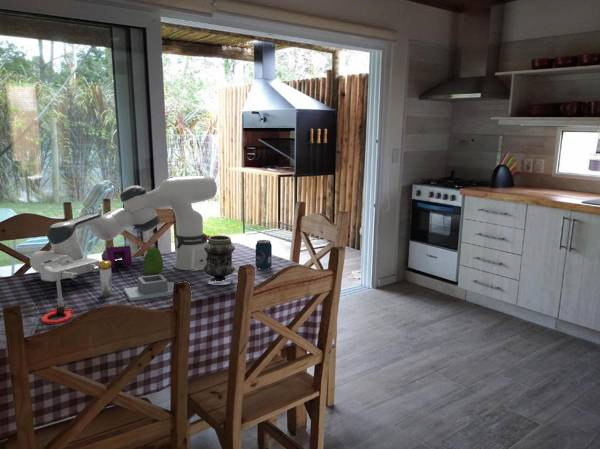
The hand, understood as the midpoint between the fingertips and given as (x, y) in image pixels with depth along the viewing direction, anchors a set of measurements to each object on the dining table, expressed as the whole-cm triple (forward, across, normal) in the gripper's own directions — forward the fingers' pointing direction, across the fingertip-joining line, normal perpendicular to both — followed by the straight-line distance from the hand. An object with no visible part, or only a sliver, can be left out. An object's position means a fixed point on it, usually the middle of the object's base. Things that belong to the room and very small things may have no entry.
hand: (86, 272), depth 177 cm
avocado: (+7, -25, -7) cm, 27 cm away
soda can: (+38, -60, -7) cm, 71 cm away
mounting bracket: (-19, -28, -7) cm, 35 cm away
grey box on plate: (+22, -11, -6) cm, 25 cm away
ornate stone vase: (+34, -34, -7) cm, 49 cm away
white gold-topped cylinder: (+10, 0, -6) cm, 12 cm away
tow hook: (+16, +22, -7) cm, 28 cm away
